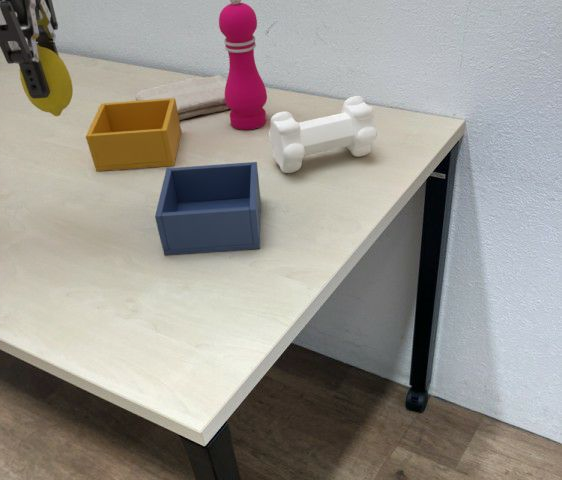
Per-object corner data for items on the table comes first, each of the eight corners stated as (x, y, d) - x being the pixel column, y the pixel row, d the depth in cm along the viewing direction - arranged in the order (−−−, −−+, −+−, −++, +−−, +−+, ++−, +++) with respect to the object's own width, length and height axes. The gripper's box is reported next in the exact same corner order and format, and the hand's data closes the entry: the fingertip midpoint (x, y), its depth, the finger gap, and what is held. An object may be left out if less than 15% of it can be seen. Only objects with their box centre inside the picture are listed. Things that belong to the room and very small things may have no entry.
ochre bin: (96, 171, 98) (85, 136, 93) (110, 137, 106) (100, 103, 102) (173, 165, 97) (166, 130, 93) (181, 131, 106) (175, 97, 102)
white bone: (355, 139, 99) (356, 87, 94) (378, 161, 94) (381, 108, 88) (268, 158, 97) (264, 107, 91) (287, 183, 91) (283, 129, 85)
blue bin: (164, 255, 80) (154, 216, 75) (174, 205, 88) (166, 168, 84) (260, 249, 79) (255, 209, 75) (260, 199, 88) (256, 161, 84)
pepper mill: (253, 110, 110) (241, -18, 96) (277, 122, 106) (267, -10, 92) (220, 122, 108) (202, -7, 93) (242, 135, 103) (227, 1, 89)
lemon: (47, 129, 71) (22, 56, 66) (27, 117, 74) (1, 46, 69) (88, 114, 74) (68, 43, 68) (67, 103, 77) (46, 33, 71)
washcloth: (246, 106, 112) (245, 89, 109) (152, 129, 107) (148, 111, 105) (225, 85, 119) (223, 69, 117) (136, 106, 115) (132, 89, 113)
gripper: (-22, -102, 65) (34, 66, 77) (-78, -75, 55) (-3, 114, 67) (47, -108, 64) (92, 62, 76) (4, -82, 54) (64, 109, 66)
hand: (48, 85), depth 71 cm, fingers closed on lemon, 5 cm apart
